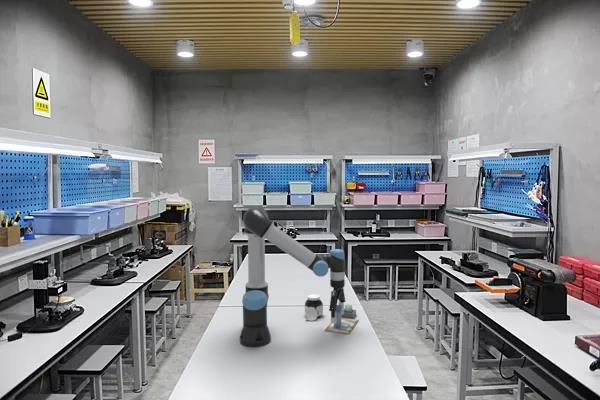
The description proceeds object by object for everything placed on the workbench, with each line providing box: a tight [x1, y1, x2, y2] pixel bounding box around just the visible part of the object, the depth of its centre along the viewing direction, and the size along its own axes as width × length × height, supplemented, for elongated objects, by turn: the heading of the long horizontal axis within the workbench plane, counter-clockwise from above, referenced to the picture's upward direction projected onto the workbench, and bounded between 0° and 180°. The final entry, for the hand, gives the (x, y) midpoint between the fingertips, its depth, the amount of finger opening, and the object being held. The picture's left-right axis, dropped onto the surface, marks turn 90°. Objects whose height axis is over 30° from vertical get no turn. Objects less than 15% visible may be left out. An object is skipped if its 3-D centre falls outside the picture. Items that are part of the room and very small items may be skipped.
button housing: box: [341, 308, 357, 319], centre depth 230 cm, size 7×7×3 cm
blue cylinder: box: [334, 304, 342, 328], centre depth 213 cm, size 4×4×11 cm
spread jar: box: [304, 293, 324, 322], centre depth 229 cm, size 12×11×12 cm
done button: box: [344, 304, 353, 313], centre depth 230 cm, size 4×4×4 cm
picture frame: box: [324, 318, 360, 336], centre depth 217 cm, size 20×13×1 cm, turn 158°
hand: (337, 318), depth 214 cm, fingers open, 13 cm apart
